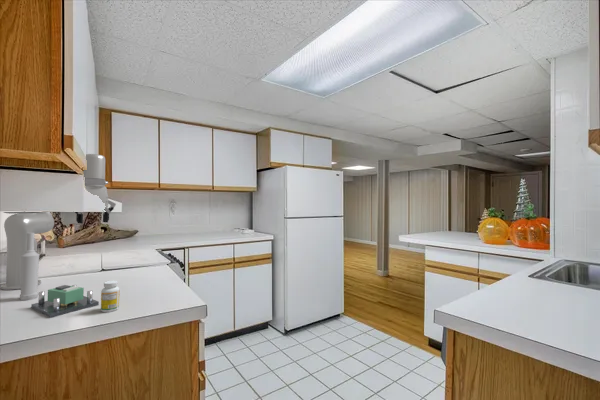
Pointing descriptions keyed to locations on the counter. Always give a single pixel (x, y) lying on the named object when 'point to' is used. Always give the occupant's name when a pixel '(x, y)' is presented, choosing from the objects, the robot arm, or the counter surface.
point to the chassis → (62, 305)
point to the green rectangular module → (66, 294)
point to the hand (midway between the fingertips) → (93, 222)
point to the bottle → (29, 271)
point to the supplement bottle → (110, 296)
